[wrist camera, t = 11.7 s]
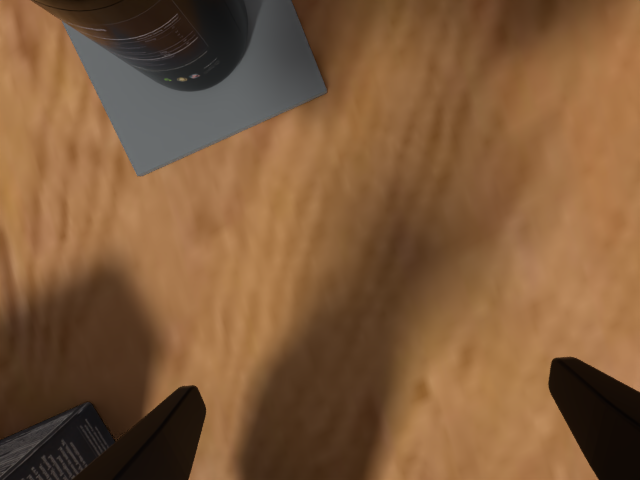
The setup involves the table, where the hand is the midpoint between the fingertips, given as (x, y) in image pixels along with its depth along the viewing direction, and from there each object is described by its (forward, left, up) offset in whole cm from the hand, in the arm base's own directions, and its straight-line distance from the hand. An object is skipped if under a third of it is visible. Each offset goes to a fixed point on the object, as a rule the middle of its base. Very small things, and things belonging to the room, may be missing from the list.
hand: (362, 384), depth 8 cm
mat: (-3, +16, -11) cm, 20 cm away
